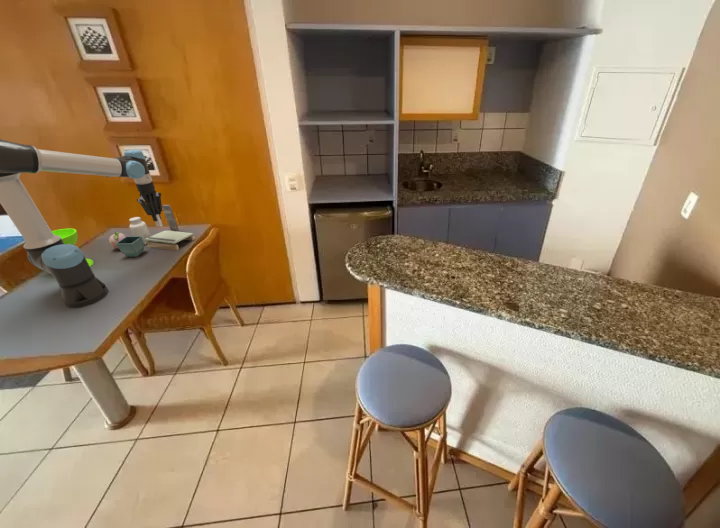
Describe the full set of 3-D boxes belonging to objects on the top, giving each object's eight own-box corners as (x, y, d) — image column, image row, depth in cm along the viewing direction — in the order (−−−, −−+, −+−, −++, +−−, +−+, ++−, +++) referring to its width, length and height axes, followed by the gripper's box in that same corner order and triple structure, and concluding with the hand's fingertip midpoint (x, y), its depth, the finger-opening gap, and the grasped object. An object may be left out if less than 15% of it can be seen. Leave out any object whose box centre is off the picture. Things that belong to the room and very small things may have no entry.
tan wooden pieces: (176, 250, 168) (164, 220, 159) (147, 247, 173) (134, 217, 164) (201, 235, 185) (192, 206, 176) (174, 232, 190) (164, 204, 181)
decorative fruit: (113, 247, 174) (105, 231, 169) (130, 243, 178) (122, 227, 173) (113, 254, 167) (105, 237, 162) (131, 249, 171) (124, 233, 166)
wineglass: (99, 257, 164) (83, 226, 155) (83, 273, 151) (64, 240, 141) (65, 261, 161) (46, 230, 152) (45, 277, 148) (23, 244, 139)
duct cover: (174, 243, 167) (173, 241, 166) (145, 240, 172) (144, 237, 171) (193, 234, 179) (192, 232, 178) (165, 231, 184) (164, 229, 183)
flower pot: (138, 258, 162) (131, 243, 157) (122, 258, 162) (114, 243, 158) (148, 250, 170) (142, 236, 165) (133, 250, 170) (126, 236, 165)
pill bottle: (137, 241, 180) (126, 217, 172) (152, 238, 183) (143, 214, 176) (137, 246, 174) (126, 222, 166) (153, 243, 178) (143, 219, 170)
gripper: (138, 186, 149) (155, 231, 160) (160, 179, 160) (174, 222, 171) (126, 185, 150) (143, 229, 162) (149, 178, 161) (163, 221, 173)
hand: (159, 225), depth 167 cm, fingers closed
